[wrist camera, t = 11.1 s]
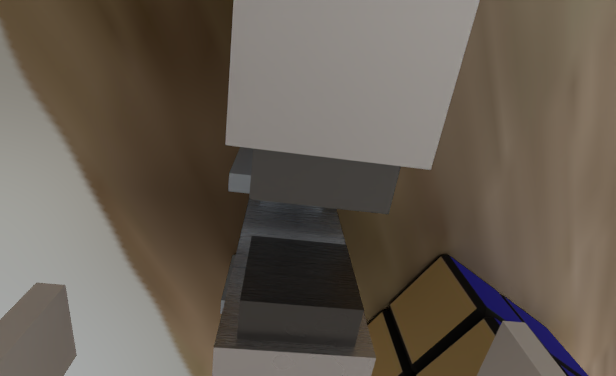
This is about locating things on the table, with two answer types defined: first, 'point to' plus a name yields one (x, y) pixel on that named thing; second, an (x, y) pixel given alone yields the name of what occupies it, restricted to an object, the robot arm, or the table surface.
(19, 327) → the robot arm
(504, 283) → the table surface
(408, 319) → the puzzle cube
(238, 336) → the grey tall block
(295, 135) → the grey stepped piece
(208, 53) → the table surface
